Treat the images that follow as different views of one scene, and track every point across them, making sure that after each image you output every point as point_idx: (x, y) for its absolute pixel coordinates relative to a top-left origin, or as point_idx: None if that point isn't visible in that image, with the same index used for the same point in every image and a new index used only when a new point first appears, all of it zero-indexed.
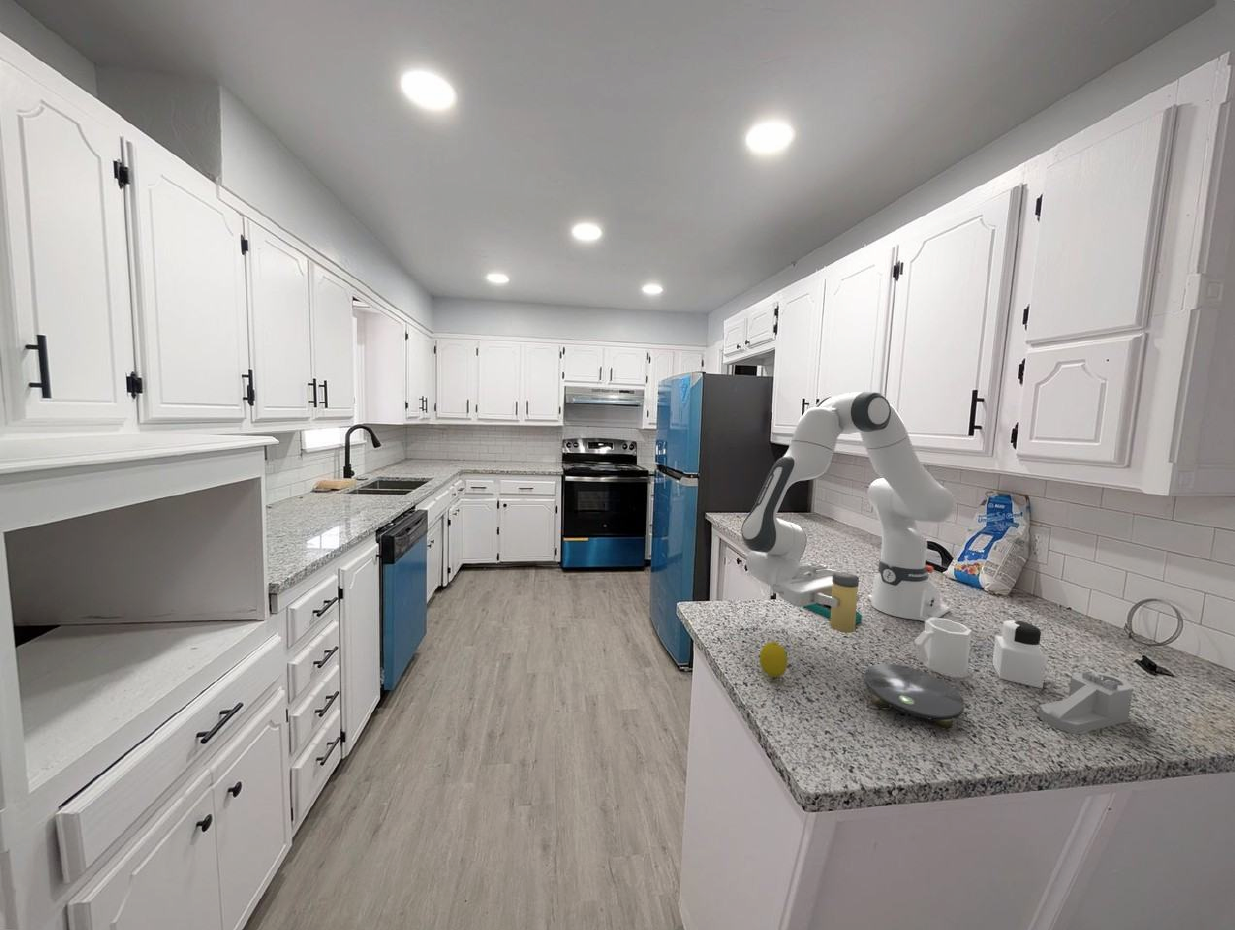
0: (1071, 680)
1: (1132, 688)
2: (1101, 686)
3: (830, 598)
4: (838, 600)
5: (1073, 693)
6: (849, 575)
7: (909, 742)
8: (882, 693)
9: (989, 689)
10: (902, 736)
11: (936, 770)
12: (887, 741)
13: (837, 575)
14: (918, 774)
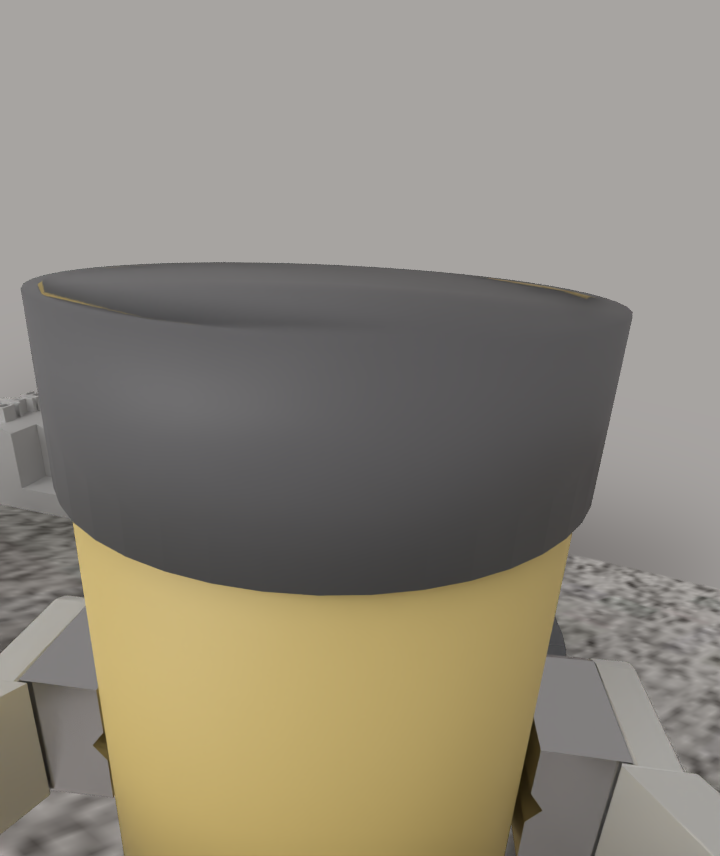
0: (12, 440)
1: (7, 398)
2: (39, 411)
3: (665, 742)
4: (549, 658)
5: (24, 466)
6: (221, 275)
7: (569, 620)
8: (558, 644)
9: (29, 597)
10: (569, 636)
11: (586, 568)
12: (639, 647)
13: (482, 309)
14: (644, 579)
